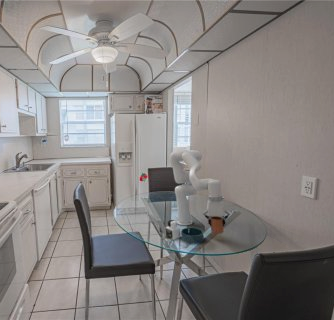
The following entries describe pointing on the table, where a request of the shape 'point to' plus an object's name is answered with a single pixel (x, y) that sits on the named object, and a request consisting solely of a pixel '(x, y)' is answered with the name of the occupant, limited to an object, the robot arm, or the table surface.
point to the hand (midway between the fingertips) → (216, 225)
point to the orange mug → (217, 224)
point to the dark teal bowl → (192, 235)
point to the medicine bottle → (172, 230)
